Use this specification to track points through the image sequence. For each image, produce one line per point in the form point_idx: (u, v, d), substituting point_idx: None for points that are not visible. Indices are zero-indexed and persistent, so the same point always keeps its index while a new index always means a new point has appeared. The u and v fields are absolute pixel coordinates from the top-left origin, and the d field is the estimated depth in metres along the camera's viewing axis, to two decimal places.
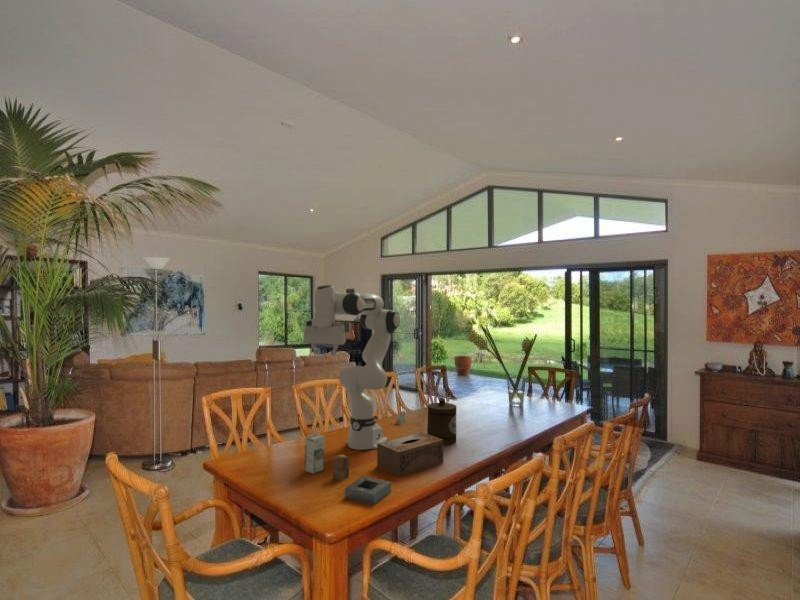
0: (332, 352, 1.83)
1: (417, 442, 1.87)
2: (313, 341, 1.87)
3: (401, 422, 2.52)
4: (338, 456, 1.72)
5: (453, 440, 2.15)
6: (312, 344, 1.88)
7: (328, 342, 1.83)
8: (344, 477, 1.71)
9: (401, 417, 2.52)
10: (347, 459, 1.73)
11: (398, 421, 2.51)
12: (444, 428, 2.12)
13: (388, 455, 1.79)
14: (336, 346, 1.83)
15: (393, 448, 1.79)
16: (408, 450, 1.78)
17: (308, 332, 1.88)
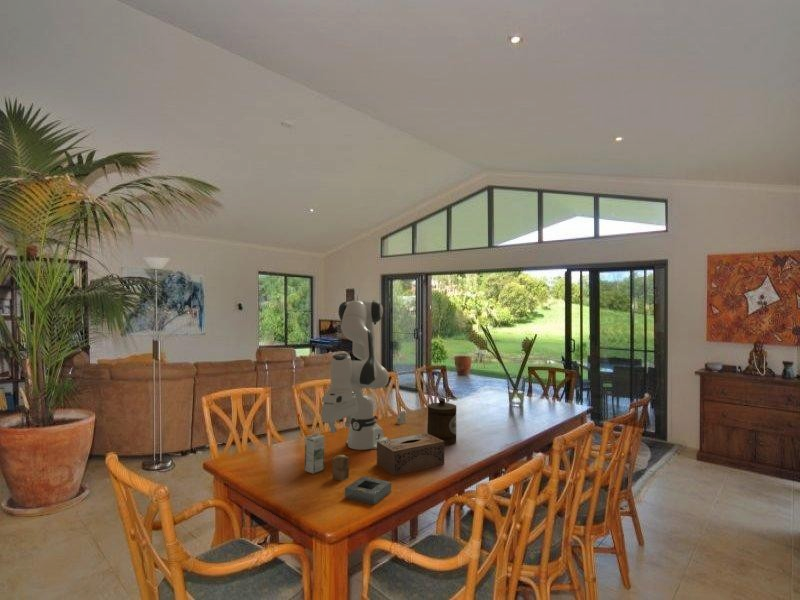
0: (349, 424, 1.76)
1: (417, 442, 1.86)
2: (337, 418, 1.68)
3: (401, 422, 2.52)
4: (338, 456, 1.72)
5: (453, 440, 2.15)
6: (334, 422, 1.67)
7: (349, 414, 1.75)
8: (344, 477, 1.71)
9: (401, 417, 2.52)
10: (347, 459, 1.73)
11: (398, 421, 2.51)
12: (444, 428, 2.12)
13: (385, 454, 1.81)
14: None
15: (390, 447, 1.80)
16: (404, 450, 1.78)
17: (333, 410, 1.65)
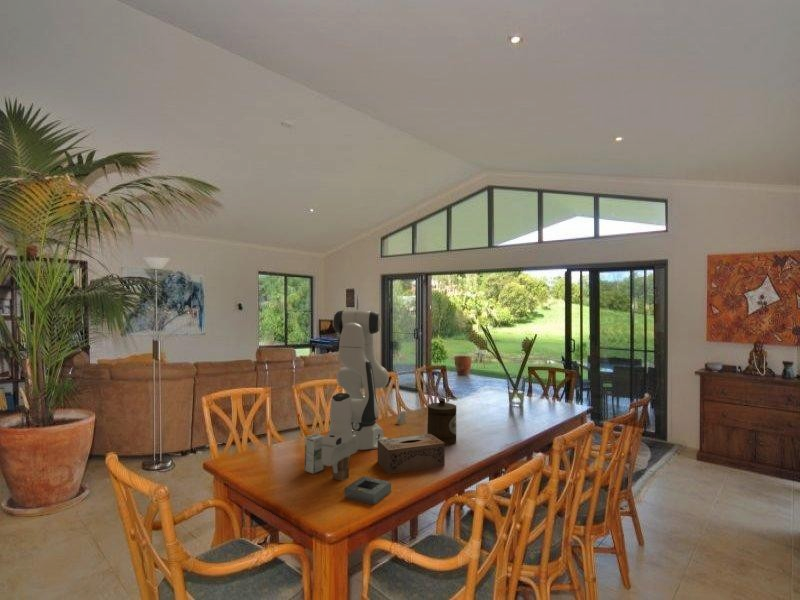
0: None
1: (416, 443, 1.86)
2: (337, 460, 1.67)
3: (401, 422, 2.52)
4: None
5: (453, 440, 2.15)
6: (336, 463, 1.68)
7: (349, 454, 1.75)
8: (344, 477, 1.71)
9: (401, 417, 2.52)
10: (347, 459, 1.73)
11: (398, 421, 2.51)
12: (444, 428, 2.12)
13: (383, 452, 1.83)
14: None
15: (387, 446, 1.81)
16: (400, 449, 1.78)
17: (333, 452, 1.65)
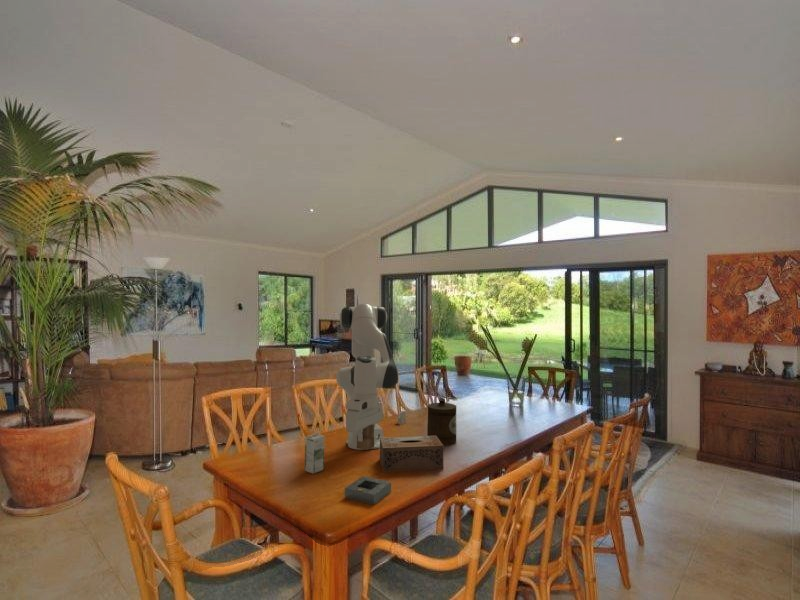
0: None
1: (414, 443, 1.85)
2: (362, 427, 1.53)
3: (402, 422, 2.52)
4: None
5: (453, 440, 2.15)
6: (361, 430, 1.54)
7: (374, 422, 1.60)
8: (369, 446, 1.56)
9: (402, 417, 2.52)
10: (372, 427, 1.58)
11: (399, 421, 2.51)
12: (444, 428, 2.12)
13: (381, 450, 1.86)
14: None
15: (384, 444, 1.84)
16: (395, 448, 1.80)
17: (358, 417, 1.51)
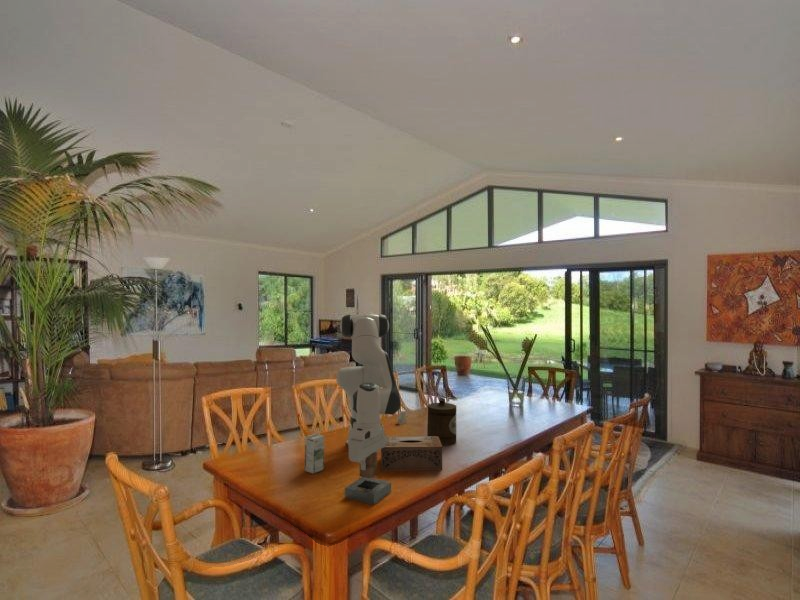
0: None
1: (414, 443, 1.85)
2: (365, 456, 1.52)
3: (402, 422, 2.52)
4: None
5: (453, 440, 2.15)
6: (364, 459, 1.53)
7: (377, 449, 1.59)
8: (372, 474, 1.55)
9: (402, 417, 2.52)
10: (375, 455, 1.57)
11: (399, 421, 2.51)
12: (444, 428, 2.12)
13: None
14: None
15: None
16: (393, 448, 1.80)
17: (361, 447, 1.50)
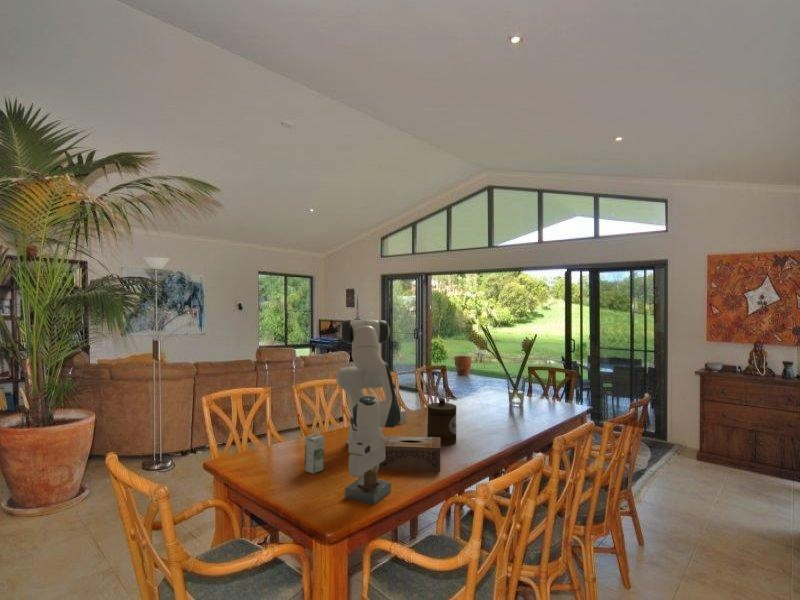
0: None
1: (413, 443, 1.85)
2: (365, 470, 1.52)
3: (402, 422, 2.52)
4: None
5: (453, 440, 2.15)
6: (363, 474, 1.52)
7: (377, 463, 1.59)
8: None
9: (402, 417, 2.52)
10: (375, 474, 1.57)
11: None
12: (444, 428, 2.12)
13: None
14: None
15: None
16: (391, 447, 1.81)
17: (361, 461, 1.49)
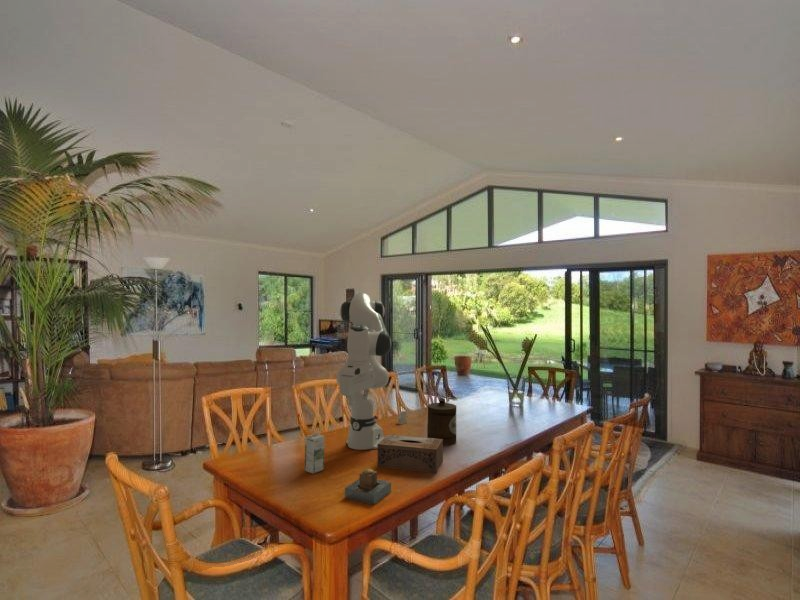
0: (366, 396, 1.72)
1: (412, 443, 1.85)
2: (355, 391, 1.63)
3: (402, 422, 2.52)
4: (365, 471, 1.57)
5: (453, 440, 2.15)
6: (352, 395, 1.62)
7: (367, 387, 1.70)
8: None
9: (402, 417, 2.52)
10: (375, 474, 1.57)
11: (399, 421, 2.51)
12: (444, 428, 2.12)
13: None
14: None
15: (383, 440, 1.89)
16: (389, 446, 1.83)
17: (351, 382, 1.60)
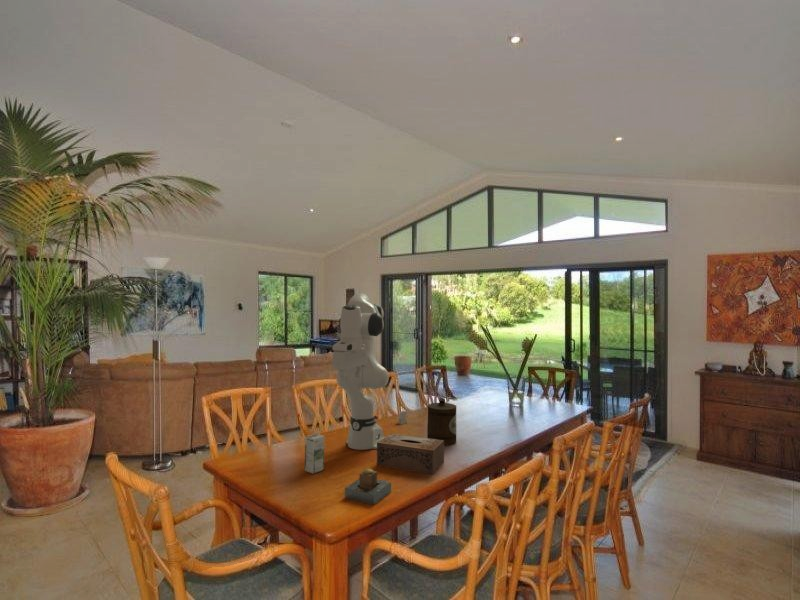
0: (359, 374, 1.79)
1: (411, 443, 1.85)
2: (348, 366, 1.71)
3: (402, 422, 2.52)
4: (365, 471, 1.57)
5: (453, 440, 2.15)
6: (344, 370, 1.70)
7: (359, 364, 1.78)
8: None
9: (402, 417, 2.52)
10: (375, 474, 1.57)
11: (399, 421, 2.51)
12: (444, 428, 2.12)
13: None
14: None
15: (384, 439, 1.90)
16: (388, 445, 1.84)
17: (344, 357, 1.68)
